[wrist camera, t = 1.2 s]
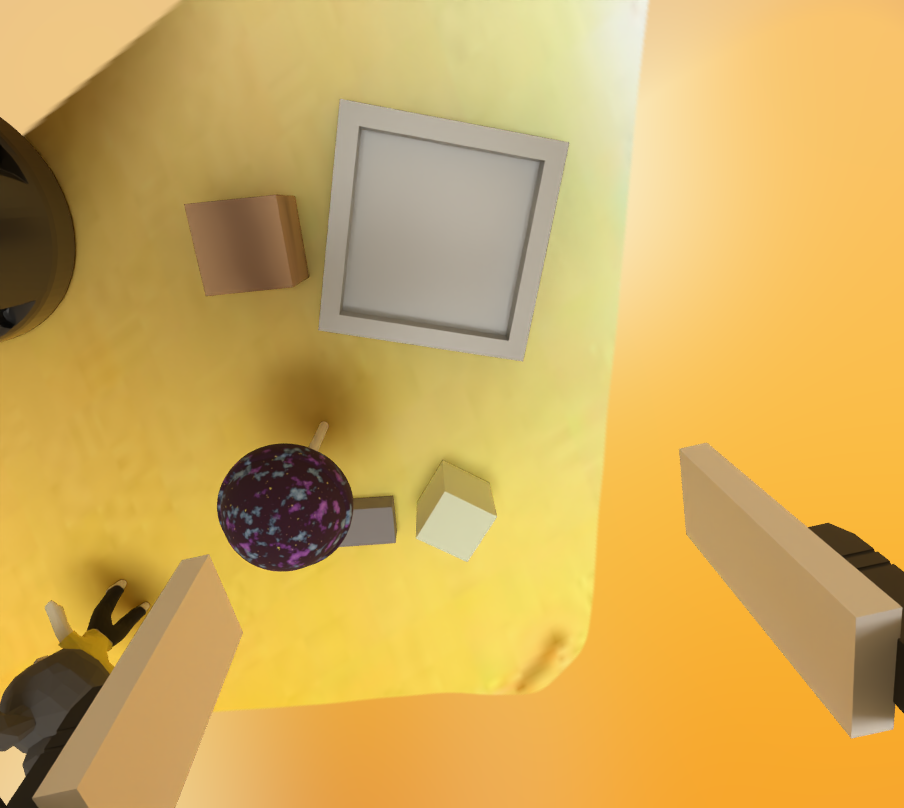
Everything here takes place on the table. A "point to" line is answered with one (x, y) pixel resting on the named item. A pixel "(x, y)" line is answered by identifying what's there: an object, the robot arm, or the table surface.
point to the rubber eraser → (372, 522)
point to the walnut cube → (248, 244)
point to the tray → (437, 230)
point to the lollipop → (285, 505)
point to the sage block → (455, 511)
